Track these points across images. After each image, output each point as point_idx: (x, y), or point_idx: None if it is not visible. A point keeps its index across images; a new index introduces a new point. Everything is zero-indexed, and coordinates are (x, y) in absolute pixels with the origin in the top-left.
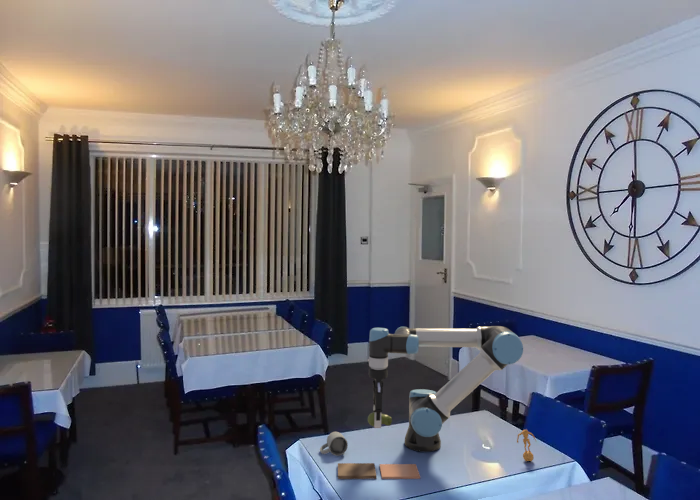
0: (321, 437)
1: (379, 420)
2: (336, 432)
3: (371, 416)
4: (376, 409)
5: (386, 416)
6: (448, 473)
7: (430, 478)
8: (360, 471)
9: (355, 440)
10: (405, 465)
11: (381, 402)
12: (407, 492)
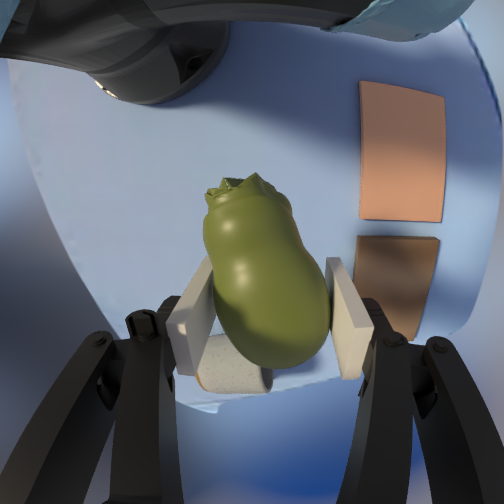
0: None
1: (372, 301)
2: (214, 384)
3: (309, 358)
4: (437, 394)
5: (269, 233)
6: None
7: (435, 66)
8: (407, 286)
9: (144, 285)
10: (373, 121)
11: (484, 415)
12: (496, 162)
